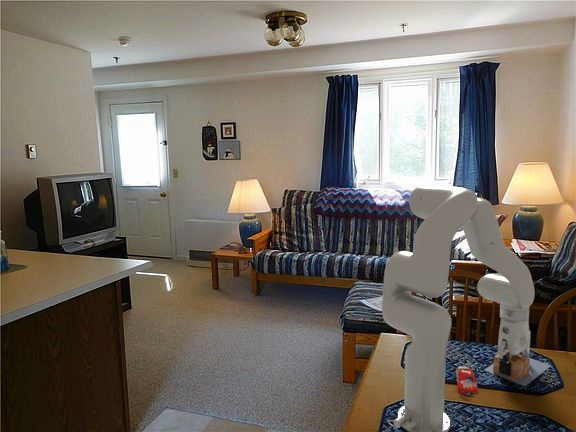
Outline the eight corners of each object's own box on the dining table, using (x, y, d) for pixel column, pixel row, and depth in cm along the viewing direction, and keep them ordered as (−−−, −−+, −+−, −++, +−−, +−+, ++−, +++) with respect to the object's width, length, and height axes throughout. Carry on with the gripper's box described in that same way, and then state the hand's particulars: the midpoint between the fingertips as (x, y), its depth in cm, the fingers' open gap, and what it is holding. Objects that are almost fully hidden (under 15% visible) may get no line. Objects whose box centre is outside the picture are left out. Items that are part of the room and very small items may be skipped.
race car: (479, 400, 118) (479, 387, 117) (457, 397, 119) (458, 384, 119) (474, 376, 130) (474, 363, 129) (454, 373, 132) (455, 361, 131)
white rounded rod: (526, 364, 133) (529, 331, 132) (520, 362, 135) (522, 329, 133) (529, 362, 134) (531, 329, 133) (523, 360, 136) (525, 327, 134)
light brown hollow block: (517, 381, 124) (518, 365, 123) (493, 372, 129) (493, 356, 129) (528, 373, 128) (529, 357, 127) (504, 364, 134) (505, 349, 133)
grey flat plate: (524, 390, 122) (525, 386, 121) (483, 373, 131) (483, 369, 131) (550, 369, 133) (551, 365, 132) (511, 355, 142) (511, 351, 142)
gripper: (513, 324, 118) (510, 385, 120) (540, 309, 128) (536, 364, 131) (486, 317, 124) (484, 374, 126) (514, 302, 134) (511, 356, 137)
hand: (511, 369), depth 129 cm, fingers closed on light brown hollow block, 7 cm apart
